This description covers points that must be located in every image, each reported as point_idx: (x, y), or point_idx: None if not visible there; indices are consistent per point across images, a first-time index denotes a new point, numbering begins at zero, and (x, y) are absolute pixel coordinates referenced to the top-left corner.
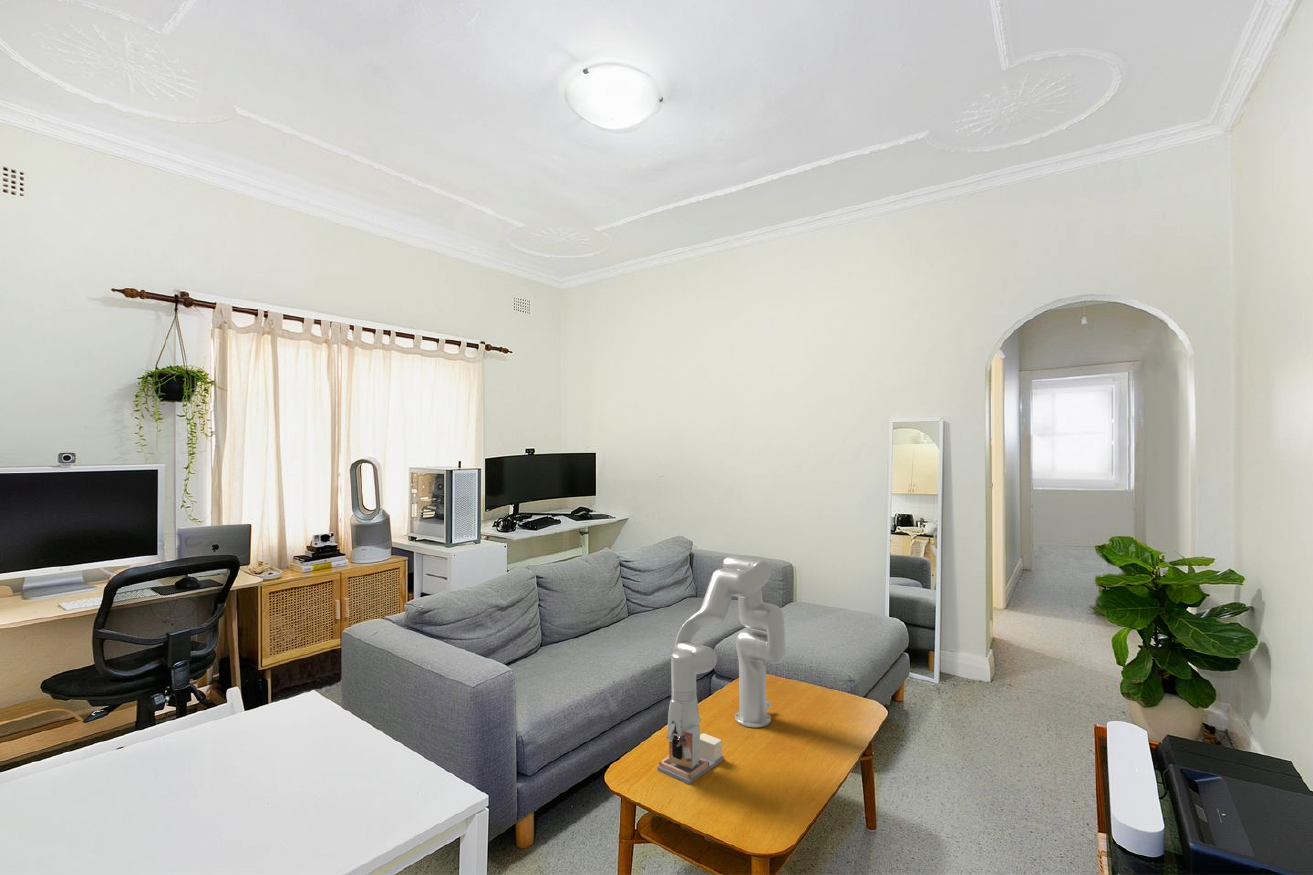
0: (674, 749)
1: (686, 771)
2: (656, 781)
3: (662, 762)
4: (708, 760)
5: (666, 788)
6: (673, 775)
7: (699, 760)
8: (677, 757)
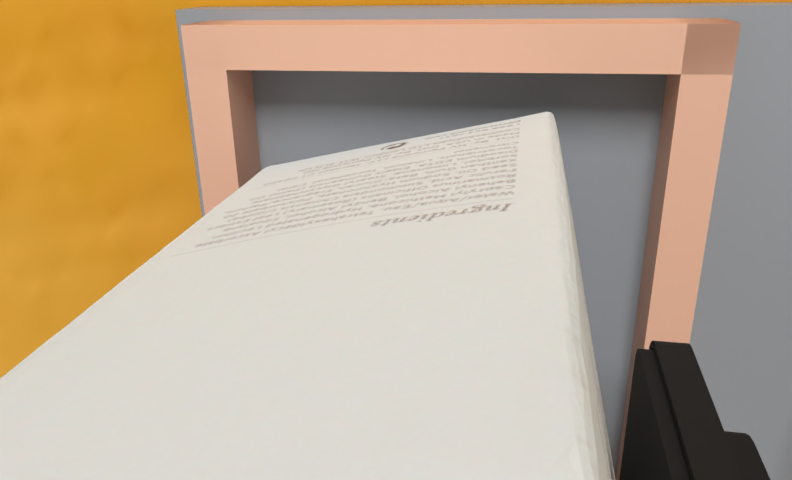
0: None
1: None
2: (37, 167)
3: (210, 73)
4: (772, 475)
5: (43, 325)
6: None
7: None
8: None
